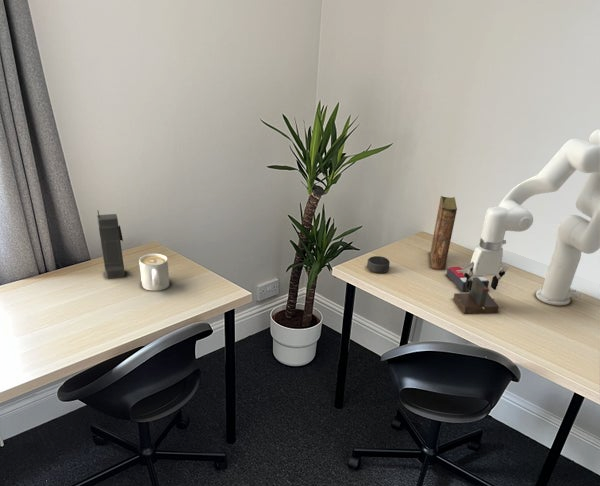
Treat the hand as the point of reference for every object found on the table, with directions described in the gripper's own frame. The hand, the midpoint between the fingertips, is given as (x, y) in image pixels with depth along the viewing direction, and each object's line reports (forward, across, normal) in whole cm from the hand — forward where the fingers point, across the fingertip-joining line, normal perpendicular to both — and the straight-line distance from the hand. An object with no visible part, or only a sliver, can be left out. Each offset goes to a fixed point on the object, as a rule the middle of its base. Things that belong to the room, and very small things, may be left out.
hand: (480, 288), depth 220 cm
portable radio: (+4, +132, -33) cm, 136 cm away
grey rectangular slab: (+4, +1, 0) cm, 4 cm away
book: (+7, +2, -39) cm, 40 cm away
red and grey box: (+7, -3, -19) cm, 21 cm away
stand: (+7, +1, 0) cm, 7 cm away
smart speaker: (+6, +29, -33) cm, 44 cm away
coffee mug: (+4, +117, -22) cm, 119 cm away
